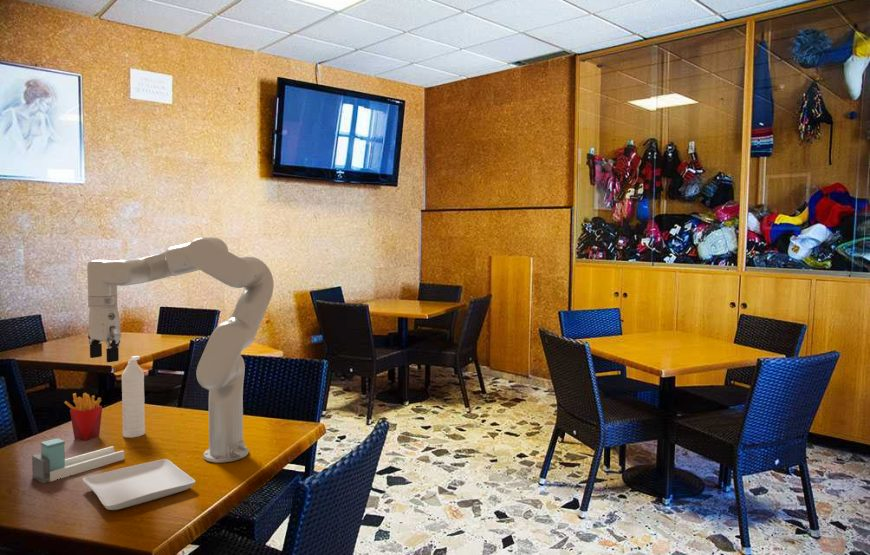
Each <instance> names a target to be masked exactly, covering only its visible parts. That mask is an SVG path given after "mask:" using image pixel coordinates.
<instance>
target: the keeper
mask: <svg viewBox="0 0 870 555" xmlns="http://www.w3.org/2000/svg"><path fill="white" fill-rule="evenodd" d="M65 443H66V442H65V440H63V439H60V438H56V437H55V438H53V439H50V440H45V441H41V442H40V447H41V448H40V450H41V451H40V452H41V454H40V455H41V456H43V457H45V458H47V459H49V463H50V471H53V470H56V469H60V468H63V467H65V459H66V457H65V455H66V454H65Z"/></svg>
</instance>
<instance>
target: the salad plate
mask: <svg viewBox="0 0 870 555" xmlns="http://www.w3.org/2000/svg"><path fill="white" fill-rule="evenodd" d="M82 481H83V483H84V484H85V485H86V486H87V487H88V488H89V489H90V490H91V491H92V492H93V493H94V494H95V495H96V496H97V498H98V499H99V501H100V503H101V504H102V505H103V507H104V508H105V509H106V510H111V511H117V510H122V509H126V508H130V507H133V506H137V505H140V504H141V505H142V504H143V503H147V502H151V501H154V500H157V499H160V498H164V497H168V496H171V495H174V494H177V493H181V492H183V491H185V490H189V489H190V488H191V487H193V485H195V484H196V480H195V479H194V478H193V477H191V476H190V475H189V474H188V473H187V472H185V471H183V470H182V469H181V468H179V467H178V466H177V465H176V464H174V462H172V461H171V460H170V459H167V458H163V459H158V460H154V461H153V460H152V461H149V462H143V463H139V464H135V465H130V466H127V467H126V466H125V467H122V468H117V469H113V470H109V471H105V472H102V473H97V474H93V475H89V476H86V477H82Z"/></svg>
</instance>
